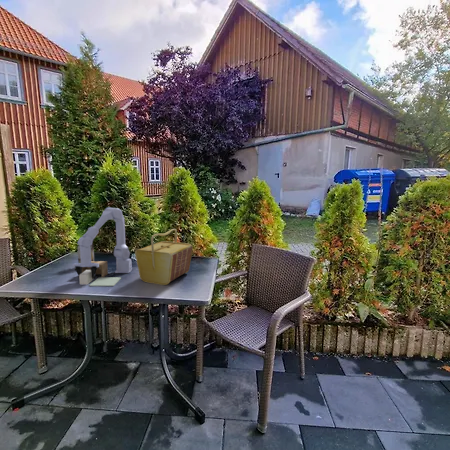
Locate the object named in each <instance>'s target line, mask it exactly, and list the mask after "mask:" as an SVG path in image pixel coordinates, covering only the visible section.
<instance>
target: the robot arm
mask: <svg viewBox="0 0 450 450" xmlns="http://www.w3.org/2000/svg"><path fill="white" fill-rule="evenodd" d="M109 220H113V221H114V222H115V235H116V236H115V237H116V245H115V246H114V249H113V256H114V257H115V260H116V261H115V262H116V270H115V271H114V274H130V272H132V270H133V267H132V264H133V263H132V259H131V258H130V254H131V253H130V250H129V247H128V246H127V245H126V229H125V228H126V225H125V224H126V223H125V222H126V221H125V216H124V215H123V211H122V209H120V208H118V207H106V208H104V210H103V211H102V214H101V216H100V217H99V218H98V220H97V221H96V222H95V224H94V225H93V226H89V227H88V228H87V231H86V232H85V233H84V234H83V235H82V236H81V237H79V239H78V241H77V242H76V243H77V246H80V257H81V263H78V262H76V263H75V262H74V263H73V264H72V265H73V266H72V267H73V268H74V271H75V272H76V273H77V276H78V277H79V275H80V274H81V273H82V267H92V268H91V273H92V279H94V280H95V277H96V274H95V273H96V270H97V268H98V267H99V263H91V248H90V246H91V245H92V244H93V242H94V240H95V238H96V236H97V235H98V234H99V233H100V229H101V227H102V226H103V225H104V224H105V223H106V222H107V221H109Z"/></svg>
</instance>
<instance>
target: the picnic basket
mask: <svg viewBox="0 0 450 450" xmlns="http://www.w3.org/2000/svg"><path fill="white" fill-rule="evenodd" d="M173 231H174V241H167V240H161V241H159V242H156V243H154V238H155V237H157V236H159V237H164V236H165V237H166V236H167V235H170V234H171V233H172V232H173ZM193 249H194V246H193V245H192V244H191V243H189V242H188V243H187V242H186V243H185V242H178V230H177V229H176V228H172V229H170V230H168V231H167V232H164V233H161V232H160V233H159V232H158V233H154V234H153V235H152V236H151V237H150V245H147V246H144V247H142V248H138V249H135V251H134V256H135V260H136V264H137V270H138V274H139V278H140V279H141V281H143V282H144V283H149V284H155V285H161V286H167V285H169V284H170V283H171V282H172V281H174V280H176V279H178V278H179V277H181V276H183V275H184V274H186V273H188V272H190V266H191V260H192V256H193Z"/></svg>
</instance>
